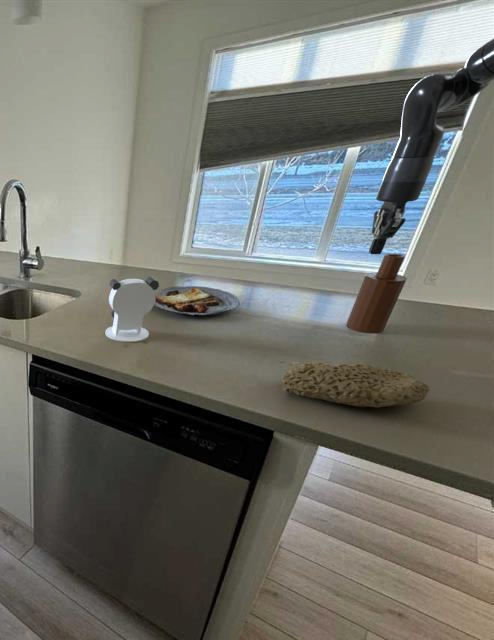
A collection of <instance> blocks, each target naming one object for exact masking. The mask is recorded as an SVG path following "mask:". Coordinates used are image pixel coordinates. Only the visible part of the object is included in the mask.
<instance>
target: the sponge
mask: <svg viewBox="0 0 494 640" xmlns="http://www.w3.org/2000/svg"><path fill="white" fill-rule="evenodd" d="M281 382H282V389H283V390H284V391H285V392H287V393H289V394H292V395H293V394H294V395H297V396H301V397H306V398H309V399H317V400H323V401H326V402H331V403H337V404H341V405H347V406H352V407H360V408H366V407H367V408H368V407H371V408H383V407H392V406H393V407H394V406H404V405H405V406H407V405H412V404H415V403H419V402H421V401H423V400H424V399H425V398H426V397H427V395H428V393H429V392H430V386H429V385H427V384H425V383H424V382H422V381H421V380H420V379H417V378H416V377H415V376H414V375H411V374H408V373H405V372H401V371H398V370H393V369H392V368H385V367H381V366H380V367H379V366H375V365H370V364H362V363H357V362H356V363H355V362H353V363H341V364H340V363H339V364H335V365H331V364H327V363H326V362H297V361H292V362H291V363H290V367H289V370H286V371H284V373H283V378H282V381H281Z"/></svg>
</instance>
